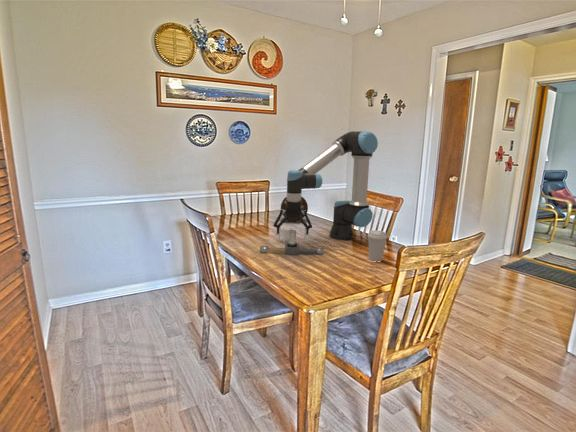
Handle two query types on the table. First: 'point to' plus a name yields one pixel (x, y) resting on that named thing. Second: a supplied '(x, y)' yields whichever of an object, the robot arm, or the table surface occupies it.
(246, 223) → the table surface
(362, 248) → the table surface
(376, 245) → the coffee cup
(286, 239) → the cup
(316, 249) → the grey knobbed bar
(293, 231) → the link pin
